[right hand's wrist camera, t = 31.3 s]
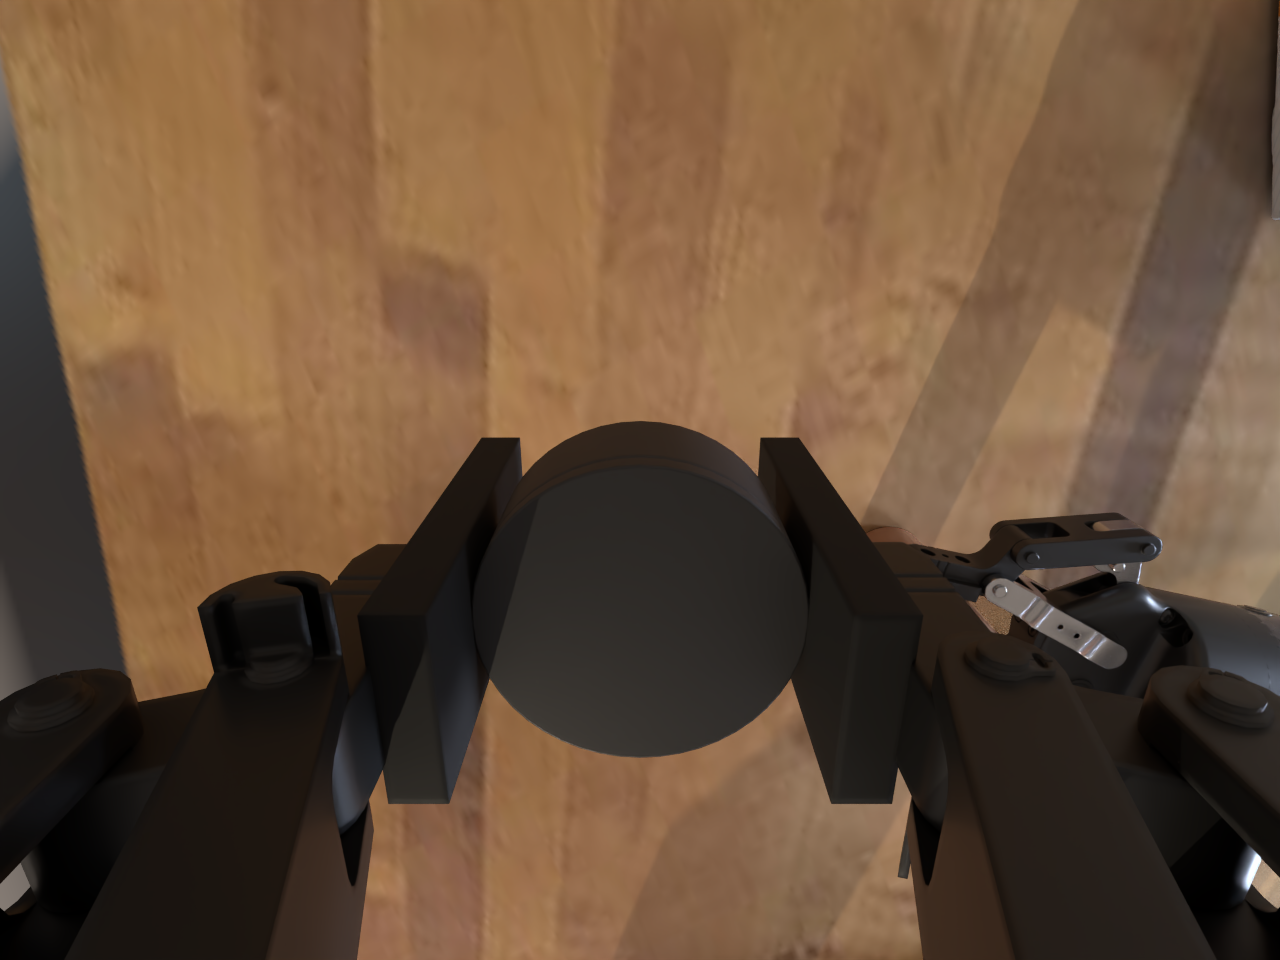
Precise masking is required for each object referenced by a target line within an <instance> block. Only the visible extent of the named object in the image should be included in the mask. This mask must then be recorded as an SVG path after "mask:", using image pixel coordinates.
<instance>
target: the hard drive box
mask: <svg viewBox="0 0 1280 960" xmlns="http://www.w3.org/2000/svg"><path fill="white" fill-rule="evenodd" d="M1278 20H1279V27H1278V43H1277V48H1278V50H1277V69H1276V95H1275V106H1274V109H1273V115H1272V156H1273V159H1272V162H1273V172H1272V213H1271V218H1272V219H1274V220H1280V0H1279V14H1278Z"/></svg>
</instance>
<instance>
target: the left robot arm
mask: <svg viewBox="0 0 1280 960" xmlns="http://www.w3.org/2000/svg"><path fill="white" fill-rule="evenodd" d="M990 539H991V540H990V541H989V542H988V543H987V544H986V545H985V546H984V547H983V548H982V549H981V550H980V551H978V552H976V553H972V554H962V553H957V552H952V551H947V550H943V549H938V548H933V547H927V546H924V545H919V544H908V545H909V546H911V547H913V548H914V549H916V550H918V551H919V552H921V553H923V554H924V555H926V556H928V557H929V558H930V559H931V560H932V562H933V563H934V564H935V565H936V566H937V568H938V569H939V570H940V571H941V572H942V574H943V578H947V580H948V581H949V582H950V583H951V584H952V586H953V587H954V588H955V592H958V593H959V594H960V595H961V596H962V598H963V599H964V600H967V601H972V602H976V601H977V599H978V597H979V595H980V596H985V597H986V598H987V599H988V601H990V602H992V603H993V604H995V605H997V606H999V607H1001V608H1003V609H1005V610H1006V611H1008V612H1010V613H1012V614H1013V615H1012V618H1011V624H1010V630H1009V633H1008V634H1007V635H1008V636H1012V637H1015V638H1017V639H1020V640H1022V641H1025V642H1027V643H1030V644H1032V645H1035V646H1036V647H1038V648H1039V649H1041V650H1043V651H1044V652H1046V653H1047V654H1049V655H1050V656H1052V657H1053V658H1054V659H1055V660H1056V661H1057V662H1058V663H1059V664H1060V666H1061V667H1062V668H1063V669H1064V670H1065V671H1066V673H1067V675H1068V677H1069V679H1070V681H1071V683H1072V684H1073V685H1076V686H1080V687H1084V688H1088V689H1093V690H1098V691H1104V692H1109V693H1114V694H1119V695H1125V696H1130V697H1135V698H1140V699H1144V697H1145V694H1146V690H1147V687H1148V684H1149V681H1150V678H1151V676H1152V675H1153V674H1154V673H1156V672H1157V671H1158V670H1160V669H1161V668H1164V667H1172V666H1179V665H1184V666H1194V667H1203V668H1204V667H1209V668H1214V669H1218V670H1221V671H1222V672H1224V673H1225V671H1227V672H1230V673H1233V674H1236V675H1239V676H1242V677H1243V678H1245V679H1246V680H1248V681H1250V682H1253V683H1255V684H1257V685H1260V686H1262V687H1264V688H1267V689H1268V690H1270V691H1272V692H1273V693H1275V694H1277V695H1278V696H1280V615H1277V614H1273V613H1268V612H1266V611H1265V610H1262V609H1259V608H1256V607H1252V606H1247V605H1244V606H1242V605H1237V606H1235V605H1231V604H1226V603H1221V602H1216V601H1211V600H1206V599H1202V598H1197V597H1192V596H1187V595H1183V594H1178V593H1173V592H1168V591H1163V590H1159V589H1154V588H1149V587H1144V586H1142V585H1140V584H1138V581H1139V576H1140V571H1141V565H1142V562H1147V561H1151V560H1153V559H1155V558H1156V557H1157V556H1158V555H1159V554H1160V552H1161V550H1162V541H1161V540H1160V539H1159V538H1158V537H1156V536H1155V535H1153V534H1152V533H1150V532H1148V531H1147V530H1145V529H1143V528H1142V527H1140V526H1139V525H1137V524H1135V523H1134V522H1132V521H1131V520H1129V519H1127V518H1126V517H1124V516H1122V515H1121V514H1119V513H1102V514H1088V515H1074V516H1060V517H1047V518H1033V519H1019V520H1005V521H1000V522H998V523H996V524H995V525H994V526H993V527H992V528H991V530H990ZM1079 566H1094V567H1095V568H1096V569H1098V570H1099V571H1101V572H1100V573H1097V574H1094V575H1092V576H1089V577H1086V578H1083V579H1080V580H1077V581H1074V582H1072V583H1069V584H1066V585H1063V586H1060V587H1057V588H1054V589H1051V590H1050V589H1048V588H1046V587H1044V586H1043V585H1041V584H1039V583H1037V582H1035V581H1034V580H1032V579H1030V578H1028V577H1026V576H1025V575H1023V574H1021V573H1022V572H1023V571H1024V570H1036V569H1050V568H1065V567H1079Z"/></svg>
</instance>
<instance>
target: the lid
mask: <svg viewBox="0 0 1280 960" xmlns="http://www.w3.org/2000/svg"><path fill="white" fill-rule="evenodd" d="M471 607H472V620H473V630H474V639H475V644H476V647H477V650H478V653H479V656H480V659H481V661H482V663H483V665H484V667H485V669H486V671H487V673H488V675H489V677H490V679H491V680H492V682H493V683H494V685H495V686H496V688H497V689H498V691H499V692H500V694H501V695H502V696H503V697H504V698H505V699H506V700H507V701H508V703H509V704H510V705H511V706H512V707H513V708H514V709H515V710H516V711H517V712H519V713H520V714H521V715H522V716H523V717H524V718H525V719H527V720H528V721H529V722H531V723H532V724H534V725H535V726H537V727H538V728H540V729H541V730H542V731H544V732H546V733H548V734H550V735H552V736H553V737H555V738H557V739H559V740H561V741H563V742H566V743H569V744H571V745H574V746H576V747H579V748H582V749H586V750H589V751H593V752H597V753H601V754H607V755H613V756H620V757H638V758H641V757H661V756H667V755H673V754H680V753H684V752H688V751H691V750H695V749H699V748H702V747H704V746H707V745H709V744H712V743H715V742H717V741H719V740H721V739H723V738H725V737H727V736H729V735H731V734H733V733H735V732H737V731H738V730H740V729H741V728H743V727H744V726H746V725H747V724H749V723H750V722H751V721H753V720H754V719H755V718H756V717H757V716H759V715H760V714H761V713H762V712H763V711H764V710H766V709H767V708H768V707H769V705H770V704H771V703H772V702H773V701H774V700H775V699H776V698H777V697H778V695H779V694H780V693H781V692H782V690H783V689H784V687H785V686H786V684H787V683H788V681H789V680H790V679H791V677H792V675H793V673H794V671H795V669H796V667H797V665H798V663H799V661H800V658H801V655H802V652H803V649H804V646H805V642H806V634H807V625H808V614H809V596H808V588H807V583H806V579H805V576H804V572H803V569H802V566H801V563H800V561H799V559H798V557H797V555H796V552H795V550H794V548H793V546H792V544H791V541H790V539H789V537H788V535H787V533H786V531H785V528H784V526H783V524H782V522H781V520H780V517H779V515H778V513H777V511H776V509H775V506H774V504H773V502H772V500H771V498H770V495H769V493H768V492H767V490H766V488H765V487H764V485H763V484H762V482H761V481H760V479H759V478H758V476H757V475H756V474H755V473H754V472H753V471H752V470H751V468H750V467H749V466H748V465H747V464H746V463H745V462H744V461H743V460H742V459H740V458H739V457H738V456H737V455H736V454H735V453H734V452H732V451H731V450H729V449H728V448H726V447H725V446H723V445H722V444H720V443H719V442H717V441H716V440H713V439H711V438H709V437H707V436H705V435H703V434H701V433H699V432H696V431H693V430H690V429H687V428H684V427H681V426H676V425H671V424H666V423H661V422H646V421H635V422H620V423H615V424H609V425H604V426H600V427H597V428H594V429H591V430H588V431H584V432H582V433H580V434H578V435H575V436H573V437H571V438H569V439H567V440H565V441H563V442H562V443H560V444H559V445H557V446H556V447H554V448H553V449H551V450H550V451H548V452H547V453H546V454H545V455H544V456H542V457H541V458H540V459H539V460H538V461H537V462H535V463H534V465H533V466H532V467H531V468H530V469H529V470H528V471H527V472H526V474H525V475H524V476H523V477H522V479H521V480H520V482H519V483H518V485H517V486H516V488H515V489H514V491H513V493H512V495H511V497H510V499H509V501H508V503H507V505H506V508H505V510H504V512H503V514H502V516H501V519H500V521H499V523H498V525H497V527H496V530H495V532H494V534H493V536H492V538H491V541H490V543H489V545H488V547H487V549H486V551H485V554H484V556H483V558H482V560H481V562H480V565H479V568H478V571H477V575H476V578H475V581H474V586H473V593H472V601H471Z"/></svg>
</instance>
